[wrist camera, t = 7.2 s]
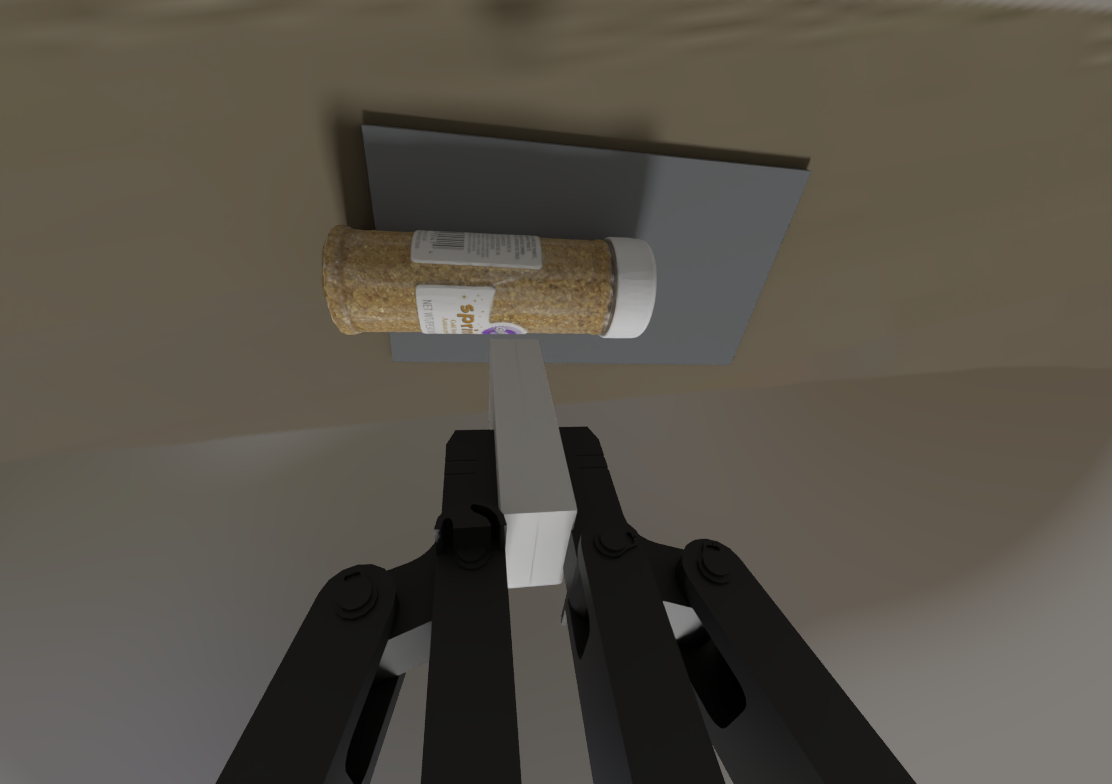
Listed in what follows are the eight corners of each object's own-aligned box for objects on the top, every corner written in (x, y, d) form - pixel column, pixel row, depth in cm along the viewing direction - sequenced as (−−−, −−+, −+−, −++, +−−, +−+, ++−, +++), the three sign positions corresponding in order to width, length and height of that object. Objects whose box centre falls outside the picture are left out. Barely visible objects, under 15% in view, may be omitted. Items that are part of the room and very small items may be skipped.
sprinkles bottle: (324, 341, 17) (655, 345, 19) (311, 215, 16) (666, 234, 18) (356, 327, 21) (623, 332, 23) (348, 227, 20) (630, 242, 22)
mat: (394, 357, 24) (393, 361, 24) (363, 123, 17) (361, 125, 17) (727, 361, 28) (730, 364, 27) (806, 169, 21) (811, 171, 21)
